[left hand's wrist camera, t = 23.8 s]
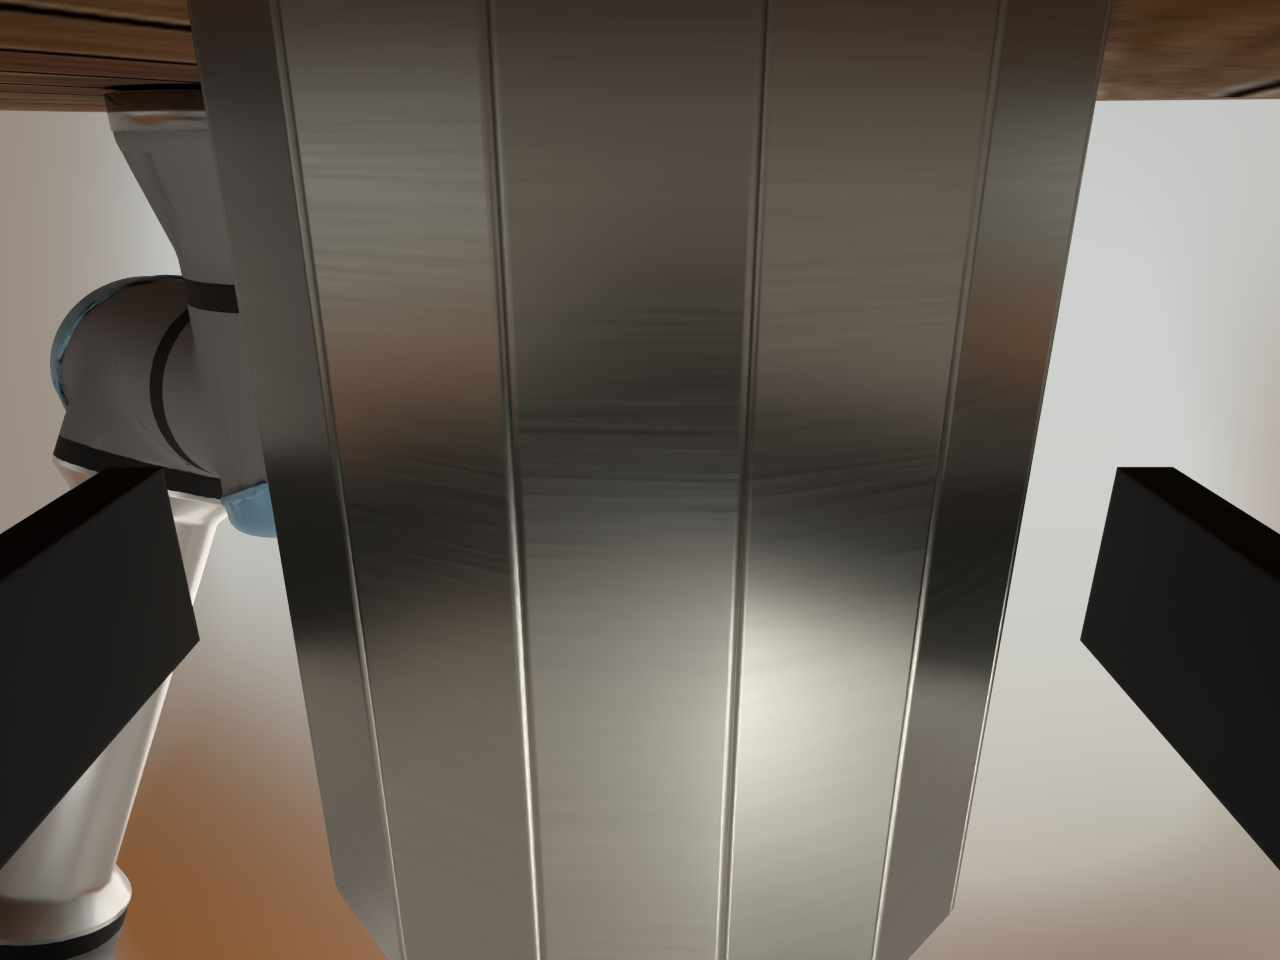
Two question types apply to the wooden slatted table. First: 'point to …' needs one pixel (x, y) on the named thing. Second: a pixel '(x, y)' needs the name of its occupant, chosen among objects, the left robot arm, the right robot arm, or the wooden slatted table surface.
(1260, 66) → the wooden slatted table surface
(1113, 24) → the wooden slatted table surface
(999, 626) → the cup
